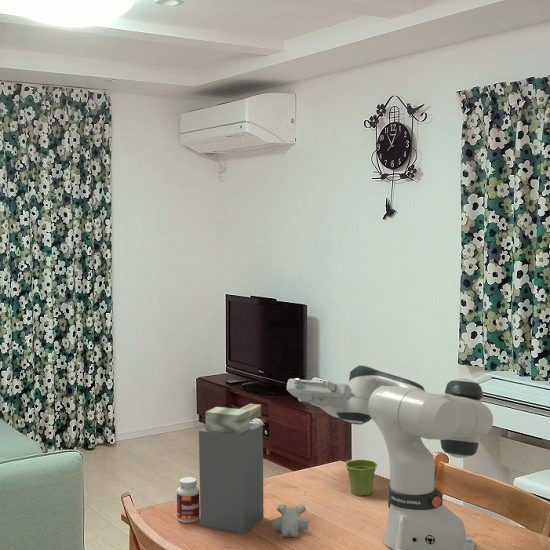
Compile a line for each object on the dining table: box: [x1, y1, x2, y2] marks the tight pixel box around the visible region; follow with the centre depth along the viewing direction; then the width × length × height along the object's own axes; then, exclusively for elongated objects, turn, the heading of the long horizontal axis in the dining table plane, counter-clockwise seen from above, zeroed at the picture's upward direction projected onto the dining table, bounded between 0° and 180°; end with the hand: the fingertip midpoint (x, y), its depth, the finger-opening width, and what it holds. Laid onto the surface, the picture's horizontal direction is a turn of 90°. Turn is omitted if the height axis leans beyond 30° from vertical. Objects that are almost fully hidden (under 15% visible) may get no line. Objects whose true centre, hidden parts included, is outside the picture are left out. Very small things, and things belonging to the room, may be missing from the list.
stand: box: [198, 422, 265, 535], centre depth 215 cm, size 13×12×26 cm
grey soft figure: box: [271, 503, 309, 538], centre depth 211 cm, size 10×5×15 cm
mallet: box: [204, 403, 262, 434], centre depth 218 cm, size 10×20×5 cm, turn 156°
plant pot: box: [345, 459, 378, 497], centre depth 237 cm, size 9×9×9 cm
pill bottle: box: [176, 476, 200, 524], centre depth 218 cm, size 6×6×11 cm
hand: (310, 382), depth 241 cm, fingers open, 8 cm apart
